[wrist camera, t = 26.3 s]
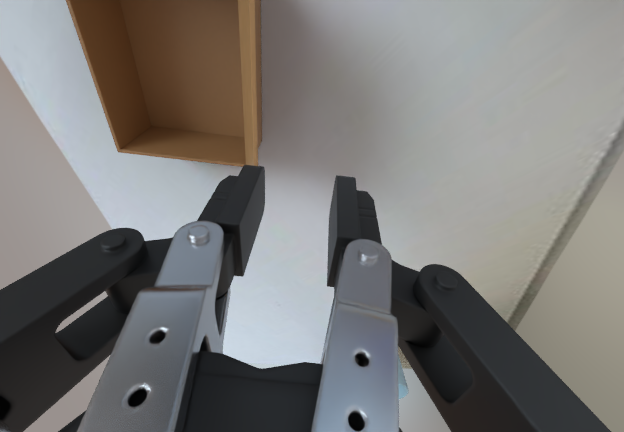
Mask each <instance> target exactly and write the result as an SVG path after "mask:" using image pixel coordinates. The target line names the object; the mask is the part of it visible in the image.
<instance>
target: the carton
mask: <svg viewBox="0 0 624 432" xmlns="http://www.w3.org/2000/svg"><path fill="white" fill-rule="evenodd" d="M66 2H67V5H68V8H69V11H70V14H71V17H72V20H73V23H74V26H75V28H76V31H77V34H78V37H79V40H80V43H81V46H82V49H83V52H84V55H85V58H86V60H87V63H88V66H89V69H90V72H91V75H92V78H93V81H94V84H95V87H96V90H97V92H98V95H99V98H100V101H101V104H102V107H103V110H104V113H105V116H106V119H107V121H108V124H109V127H110V130H111V133H112V136H113V139H114V142H115V145H116V148H117V151H118V152H122V153H130V154H139V155H147V156H156V157H164V158H173V159H181V160H190V161H198V162H207V163H215V164H224V165H232V166H241V167H243V166H244V165H246V156H245V135H244V115H243V94H242V74H241V53H240V33H239V12H238V0H66ZM255 38H256V88H257V139H258V148H259V146H260V143H261V141H262V93H261V0H255Z"/></svg>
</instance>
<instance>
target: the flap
mask: <svg viewBox="0 0 624 432" xmlns="http://www.w3.org/2000/svg"><path fill="white" fill-rule="evenodd" d="M238 12H239V33H240V53H241V74H242V94H243V115H244V135H245V156H246V165H253V166H258V139H257V88H256V38H255V0H238Z"/></svg>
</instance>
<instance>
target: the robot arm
mask: <svg viewBox="0 0 624 432" xmlns="http://www.w3.org/2000/svg"><path fill="white" fill-rule="evenodd" d="M264 205H265V170H264V167H262V166H253V165H244V166H243V168H242V170H241V172H240V174H239V176H228V177H227V178H225V179H224V180H222V181H221V182H220V183H219V185H218V186H217V188H216V190H215V192H214V193H213V195H212V196H211V199H210V200H209V202H208V203H207V205H206V207H205V208H204V210H203V212H202V213H201V215H200V217H199V218H198V220H197V221H195V222H191V223H188V224H186V225H184V226H182V227H181V228H180V229H179V230H178V231H177V232H176V233H175V235H174V237H173V238H168V239H160V240H151V241H144V238H143V236H142V234H141V233H140V232H139V231H137V230H135V229H131V228H118V229H113V230H109V231H106V232H104V233H102V234H99V235H98V236H96V237H94V238H92V239H90V240H89V241H87V242H85V243H83V244H82V245H80V246H78V247H76V248H74V249H73V250H71V251H69V252H67V253H66V254H64V255H62V256H60V257H58V258H57V259H55V260H53V261H51V262H49V263H48V264H46V265H44V266H42V267H40V268H39V269H37V270H35V271H33V272H32V273H30V274H28V275H26V276H24V277H23V278H21V279H19V280H17V281H15V282H14V283H12V284H10V285H8V286H7V287H5V288H3V289H1V290H0V432H23V431H24V430H25V429H26V428H28V427H29V426H30V425H31V424H32V423H33V422H34V421H36V420H37V419H38V418H39V417H40V416H41V415H42V414H43V413H45V412H46V411H47V410H48V409H49V408H50V407H51V406H53V405H54V404H55V403H56V402H57V401H58V400H59V399H60V398H62V397H63V396H64V395H65V394H66V393H67V392H68V391H69V390H71V389H72V388H73V387H74V386H75V385H76V384H77V383H79V382H80V381H81V380H82V379H83V378H84V377H85V376H87V375H88V374H89V373H90V372H91V371H92V370H93V369H95V368H96V367H97V366H98V365H99V364H100V363H101V362H102V361H103V360H105V359H106V358H107V357H108V356H109V355H110V354H111V356H110V358H109V360H108V362H107V365H106V367H105V369H104V371H103V374H102V376H101V378H100V380H99V383H98V385H97V387H96V389H95V392H94V394H93V396H92V398H91V401H90V403H89V405H88V408H87V410H86V411H85V412H83V413H82V414H81V415H80V416H78V417H77V418H76V419H74V420H73V421H72V422H70V423H69V424H68V425H66V426H65V427H64V428H62V429H61V430H60V431H58V432H402V431H401V429H400V428H399V382H398V346H399V347H400V349H401V350H402V352H403V354H404V355H405V357H406V359H407V360H408V362H409V363H410V365H411V367H412V368H413V370H414V372H415V373H416V375H417V377H418V378H419V380H420V381H421V383H422V385H423V386H424V388H425V389H426V391H427V393H428V394H429V396H430V398H431V399H432V401H433V402H434V404H435V406H436V407H437V409H438V411H439V412H440V414H441V416H442V417H443V419H444V420H445V422H446V424H447V425H448V427H449V428H450V430H451V432H611V431H610V430H609V429H608V428H607V427H606V426H605V425H604V424H603V423H602V422H601V421H600V420H599V419H598V418H597V416H596V415H595V414H593V412H592V411H591V410H590V409H589V408H588V407H587V406H586V405H585V404H584V403H583V402H582V401H581V400H580V399H579V398H578V397H577V396H576V395H575V394H574V393H573V391H571V389H570V388H569V387H568V386H567V385H566V384H565V383H564V382H563V381H562V380H561V379H560V378H559V377H558V376H557V375H556V374H555V373H554V372H553V371H552V370H551V369H550V367H549V366H548V365H547V364H546V363H545V362H544V361H543V360H542V359H541V358H540V357H539V356H538V355H537V354H536V353H535V352H534V351H533V350H532V349H531V348H530V347H529V345H528V344H527V343H526V342H525V341H524V340H523V339H522V338H521V337H520V336H519V335H518V334H517V333H516V332H515V331H514V330H513V329H512V328H511V327H510V326H509V325H508V324H507V322H506V321H505V320H504V319H503V318H502V317H501V316H500V315H499V314H498V313H497V312H496V311H495V310H494V309H493V308H492V307H491V306H490V305H489V304H488V303H487V302H486V301H485V300H484V298H483V297H482V296H481V295H480V294H479V293H478V292H477V291H476V290H475V289H474V288H473V287H472V286H471V285H470V284H469V283H468V282H467V281H466V280H465V279H464V278H463V277H462V276H461V275H460V274H459V273H458V272H456V271H454V270H453V269H451V268H449V267H446V266H443V265H437V264H431V265H427V266H425V267H423V268H422V269H421V271H420V272H418V271H415V270H413V269H410V268H407V267H404V266H402V265H400V264H398V263H396V262H395V261H393V260H392V259H391V255H390V253H389V251H388V250H387V249H386V248H385V247H384V246H382V243H381V238H380V232H379V227H378V221H377V218H376V217H377V216H376V211H375V205H374V200H373V199H372V197H371V196H370V195H369V194H368V192H365V191H357V190H356V180H355V178H354V177H346V176H337V175H336V179H335V184H334V190H333V196H332V202H331V208H330V215H329V236H328V273H327V286H330V287H334V299H333V304H332V309H331V313H330V318H329V323H328V328H327V333H326V338H325V343H324V348H323V353H322V358H321V363H320V364H316V363H307V362H303V363H297V364H291V365H284V366H278V367H272V368H266V369H259V368H256V367H253V366H251V365H248V364H246V363H244V362H241V361H239V360H236V359H234V358H231V357H229V356H227V355H224V354H223V340H224V333H225V326H226V320H227V313H228V306H229V299H230V285H231V282H232V280H233V277H234V275H235V276H243V275H244V272H245V269H246V266H247V263H248V260H249V256H250V253H251V250H252V247H253V244H254V241H255V238H256V235H257V231H258V228H259V225H260V222H261V219H262V216H263V212H264ZM104 291H106V293H107V295H108V297H106V298H105V299H104V300H103V301H101V302H99V303H98V304H97V305H95V306H94V307H93V308H91V309H90V310H89V311H87V312H86V313H84V314H83V315H82V316H80V317H79V318H77V319H76V320H75V321H73V322H72V323H71V324H69V325H68V326H67V327H65V328H64V329H62V330H61V331H59V332H57V333H55V332H56V329H57V327H58V325H60V323H61V322H62V321H63V320H64V319H66V318H67V317H68V316H70V315H71V314H73V313H74V312H76V311H77V310H79V309H80V308H81V307H83V306H84V305H86V304H87V303H88V302H90V301H91V300H93V299H94V298H95V297H97V296H98V295H100V294H101V293H103V292H104Z"/></svg>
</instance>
